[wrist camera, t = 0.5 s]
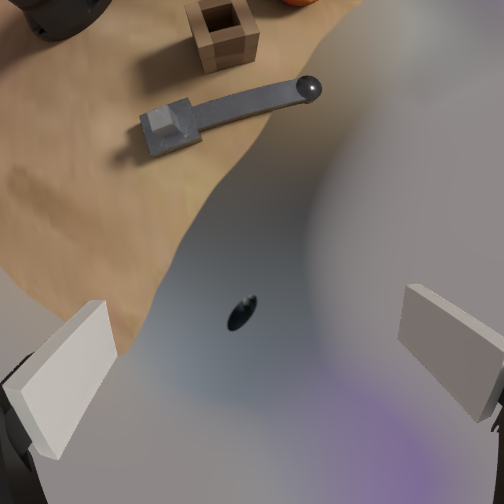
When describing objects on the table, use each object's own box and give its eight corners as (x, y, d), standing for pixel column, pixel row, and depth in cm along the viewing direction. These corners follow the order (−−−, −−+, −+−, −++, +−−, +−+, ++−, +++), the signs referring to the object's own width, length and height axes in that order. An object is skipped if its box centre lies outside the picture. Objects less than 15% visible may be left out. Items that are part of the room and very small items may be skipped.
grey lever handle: (145, 120, 34) (126, 106, 27) (310, 72, 33) (325, 50, 26) (156, 157, 35) (138, 151, 28) (323, 108, 34) (341, 92, 28)
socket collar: (192, 36, 31) (184, 5, 24) (240, 23, 31) (241, -9, 24) (205, 74, 33) (198, 48, 25) (254, 61, 33) (259, 32, 25)
